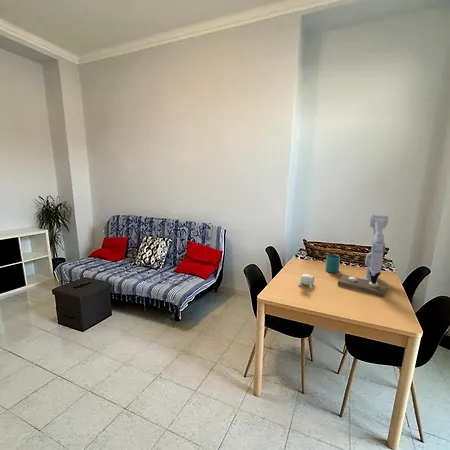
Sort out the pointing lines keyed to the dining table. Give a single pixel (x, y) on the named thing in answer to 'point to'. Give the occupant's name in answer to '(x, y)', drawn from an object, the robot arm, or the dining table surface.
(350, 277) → the button
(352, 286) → the console
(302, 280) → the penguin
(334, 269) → the cup
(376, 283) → the button
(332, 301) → the dining table surface
